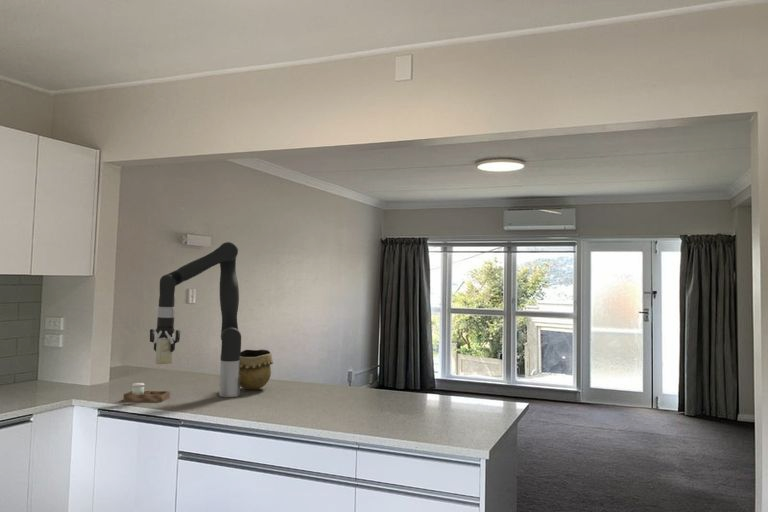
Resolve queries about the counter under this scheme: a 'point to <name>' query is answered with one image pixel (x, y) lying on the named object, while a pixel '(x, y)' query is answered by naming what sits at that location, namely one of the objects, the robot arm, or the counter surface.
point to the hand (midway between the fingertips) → (164, 351)
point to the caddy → (148, 396)
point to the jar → (138, 388)
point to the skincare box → (163, 351)
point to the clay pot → (255, 368)
